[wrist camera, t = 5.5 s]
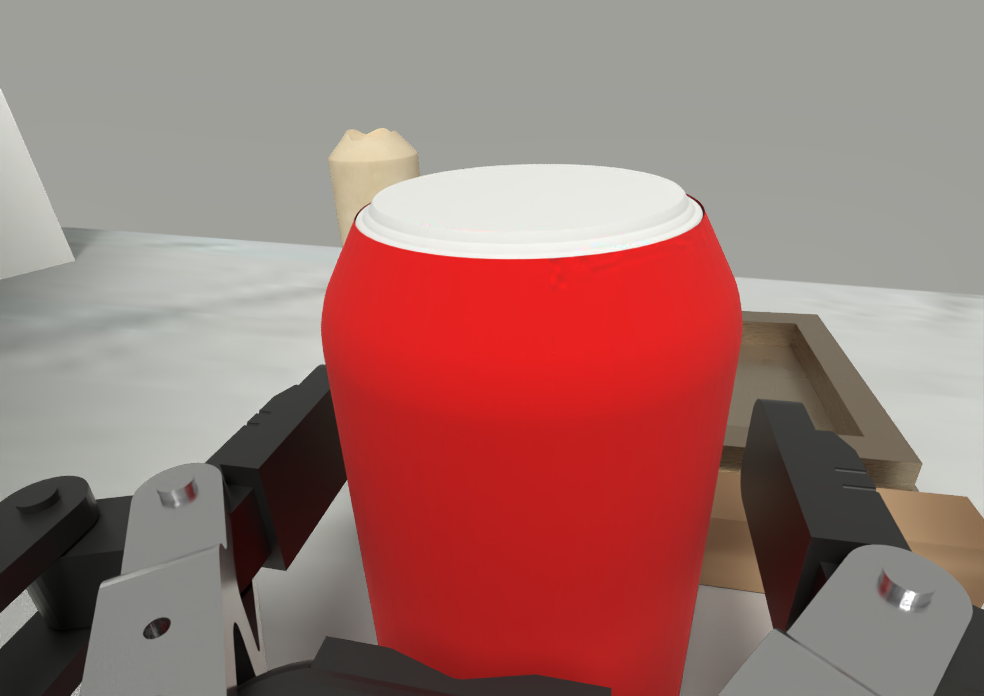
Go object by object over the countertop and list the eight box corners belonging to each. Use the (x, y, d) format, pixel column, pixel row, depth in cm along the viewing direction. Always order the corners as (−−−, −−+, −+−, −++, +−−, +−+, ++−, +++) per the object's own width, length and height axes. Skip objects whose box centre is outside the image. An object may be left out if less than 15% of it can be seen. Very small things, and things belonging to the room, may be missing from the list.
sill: (457, 550, 18) (451, 487, 17) (472, 506, 20) (469, 446, 19) (974, 622, 15) (1008, 552, 14) (938, 563, 17) (967, 496, 16)
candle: (332, 294, 38) (305, 135, 34) (374, 268, 43) (354, 125, 38) (407, 302, 37) (388, 135, 32) (442, 274, 41) (430, 124, 37)
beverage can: (349, 828, 12) (183, 245, 6) (449, 583, 17) (408, 154, 11) (667, 933, 10) (820, 276, 5) (667, 626, 15) (738, 156, 10)
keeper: (537, 484, 21) (537, 433, 20) (569, 338, 31) (570, 300, 30) (916, 526, 18) (938, 471, 17) (812, 353, 29) (822, 312, 28)
